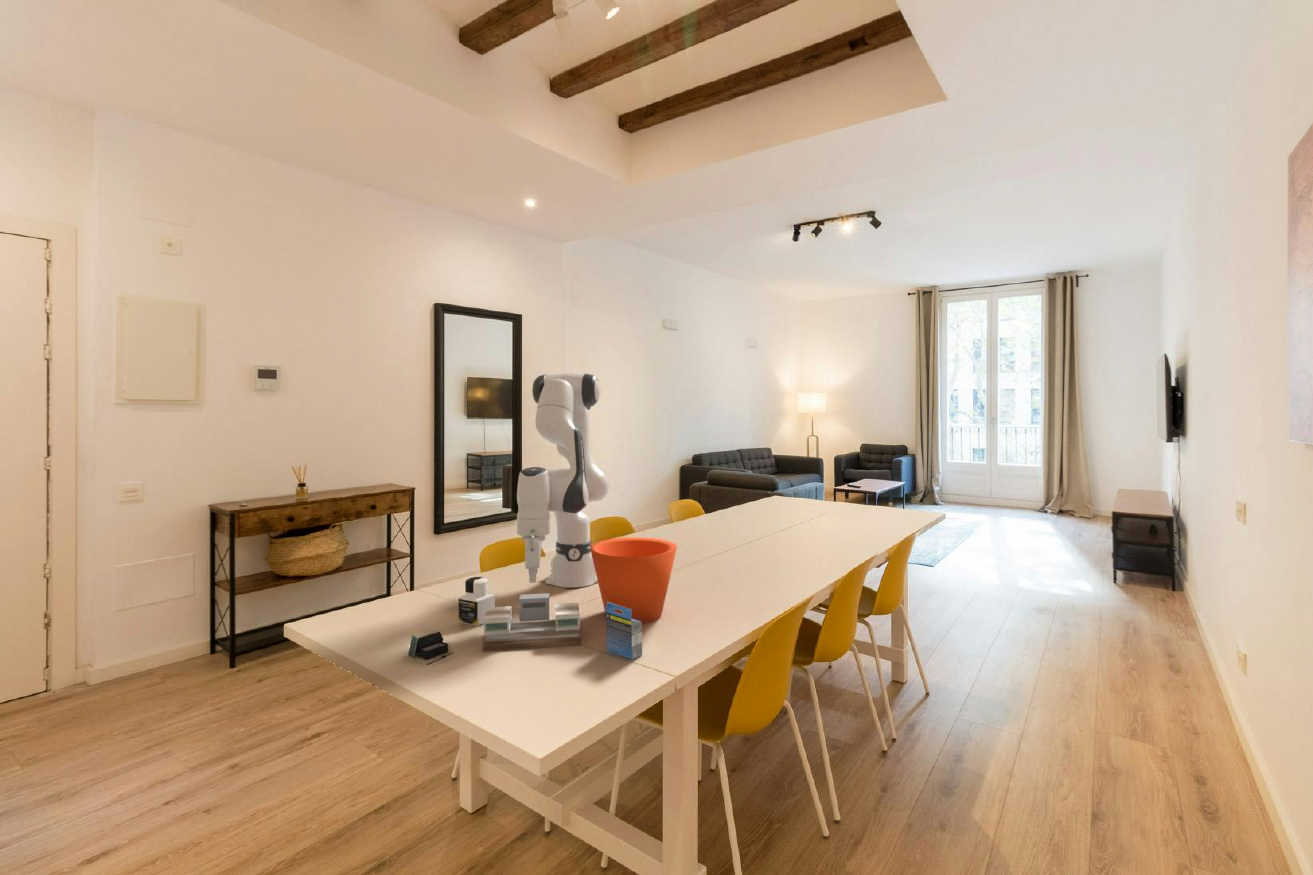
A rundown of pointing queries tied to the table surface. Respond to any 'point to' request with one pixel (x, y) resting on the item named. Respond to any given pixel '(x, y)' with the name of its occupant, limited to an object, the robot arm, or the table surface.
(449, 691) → the table surface
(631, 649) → the label tape box
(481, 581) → the medicine bottle
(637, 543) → the flowerpot
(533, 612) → the block
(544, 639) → the rail board
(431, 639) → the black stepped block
